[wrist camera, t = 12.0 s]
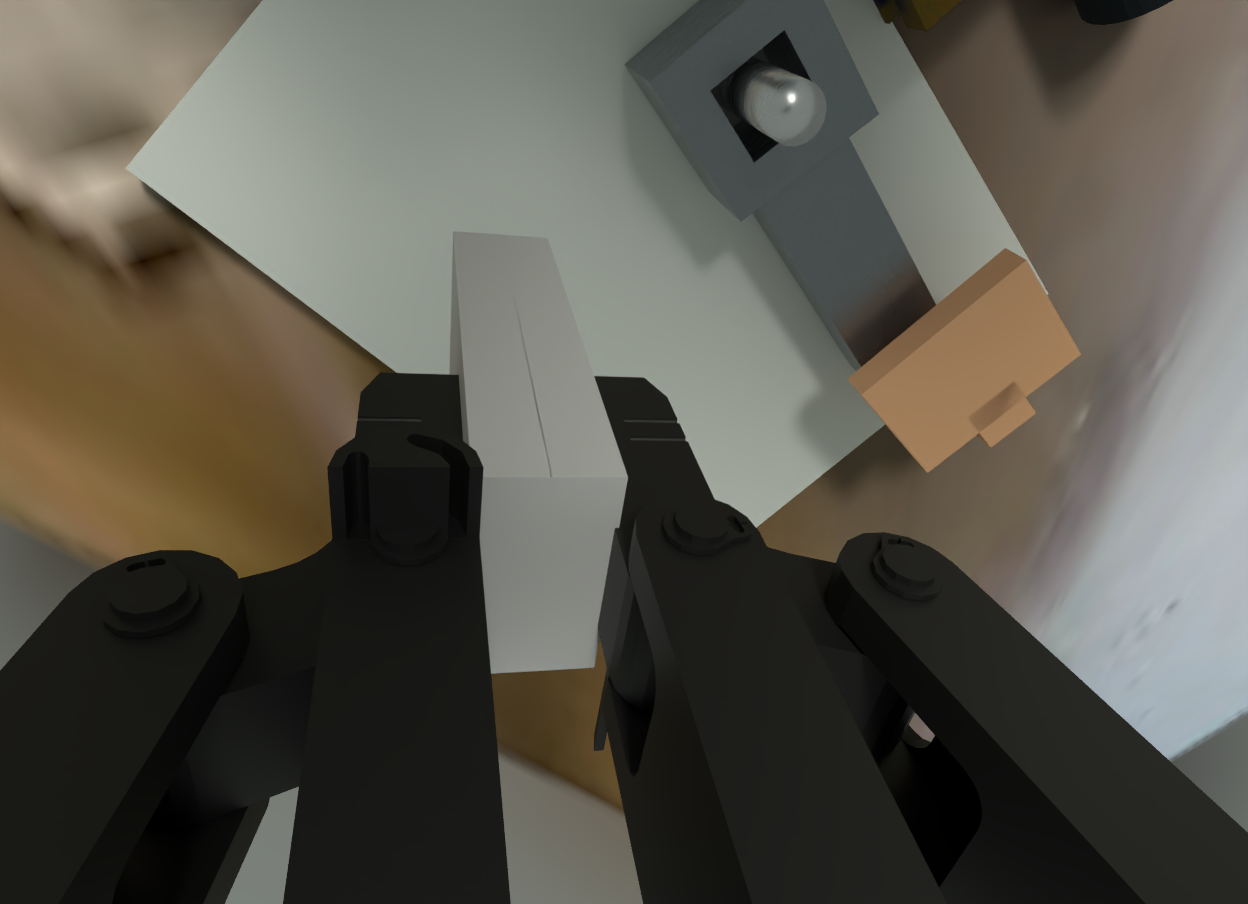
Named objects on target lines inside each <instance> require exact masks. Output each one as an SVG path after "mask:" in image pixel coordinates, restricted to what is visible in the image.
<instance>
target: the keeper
mask: <svg viewBox="0 0 1248 904" xmlns="http://www.w3.org/2000/svg"><path fill="white" fill-rule="evenodd" d="M1080 355H1081V353H1080V352H1079V350H1078V348H1077V346H1076V345H1075V343H1074V341H1073V339H1072V338H1071V336H1070V334H1069V333H1068V331H1067V329H1066V327H1065V326H1064V324H1063V322H1062V320H1061V319H1060V317H1059V315H1058V313H1057V312H1056V310H1055V308H1054V307H1053V305H1052V303H1051V301H1050V300H1049V298H1048V296H1047V294H1046V293H1045V291H1044V289H1043V288H1042V286H1041V284H1040V282H1039V281H1038V279H1037V277H1036V275H1035V274H1034V272H1033V270H1032V268H1031V267H1030V265H1029V263H1028V262H1027V260H1026V259H1024V258H1022V257H1021V256H1019V255H1017V254H1015V253H1014V252H1012V251H1010V250H1008V249H1006V248H1005V249H1003V250H1002V251H1001V252H1000V253H999V254H997V255H996V256H995V257H994V258H992V259H991V260H990V261H989V262H988V263H986V264H985V265H984V266H983V267H982V268H980V269H979V270H978V271H977V272H976V273H974V274H973V275H972V276H971V277H970V278H968V279H967V280H966V281H965V282H964V283H962V284H961V285H960V286H959V287H957V288H956V289H955V290H954V291H953V292H951V293H950V294H949V295H948V296H947V297H945V298H944V299H943V300H942V301H941V302H939V303H938V304H937V305H936V306H935V307H933V308H932V309H931V310H930V311H928V312H927V313H926V314H925V315H924V316H922V317H921V318H920V319H919V320H918V321H916V322H915V323H914V324H913V325H912V326H910V327H909V328H908V329H907V330H906V331H904V332H903V333H902V334H901V335H899V336H898V337H897V338H896V339H895V340H893V341H892V342H891V343H890V344H889V345H887V346H886V347H885V348H884V349H883V350H881V351H880V352H879V353H878V354H877V355H875V356H874V357H873V358H872V359H871V360H869V361H868V362H867V363H866V364H864V365H863V366H862V367H861V368H860V369H858V370H857V371H856V372H855V373H854V374H852V375H851V376H850V377H849V378H848V379H847V380H848V381H849V382H850V383H851V384H852V386H853V387H854V388H855V389H856V390H857V391H858V393H859V394H860V395H861V396H862V397H863V399H864V400H865V401H866V402H867V403H868V404H869V406H870V407H871V408H872V409H873V410H874V412H875V413H876V414H877V415H878V416H879V417H880V419H881V420H882V421H883V422H884V423H885V425H886V426H887V427H888V428H889V429H890V430H891V432H892V433H893V434H894V435H895V436H896V438H897V439H898V440H899V441H900V442H901V443H902V445H903V446H904V447H905V448H906V449H907V451H908V452H909V453H910V454H911V455H912V456H913V457H914V459H915V460H916V461H917V462H918V463H919V464H920V465H921V466H922V467H923V468H924V470H925V471H926V472H927V473H928V472H929V471H931V470H932V469H933V468H934V467H936V466H937V465H938V464H940V463H941V462H942V461H944V460H945V459H946V458H947V457H949V456H950V455H951V454H953V453H954V452H955V451H957V450H958V449H959V448H960V447H962V446H963V445H964V444H966V443H967V442H968V441H970V440H971V439H972V438H973V437H975V436H976V435H977V436H978V437H980V438H981V439H982V440H983V441H984V442H985V443H986V444H987V445H988V446H989V447H990V448H991V447H992V446H994V445H995V444H996V443H998V442H999V441H1000V440H1002V439H1003V438H1004V437H1005V436H1007V435H1008V434H1009V433H1011V432H1012V431H1013V430H1015V429H1016V428H1017V427H1019V426H1020V425H1021V424H1022V423H1024V422H1025V421H1026V420H1028V419H1029V418H1030V417H1032V416H1033V415H1034V414H1036V412H1035V411H1034V409H1033V408H1032V406H1031V405H1030V403H1029V402H1028V400H1027V399H1026V397H1027V396H1028V395H1029V394H1030V393H1032V392H1033V391H1034V390H1036V389H1037V388H1038V387H1040V386H1041V385H1042V384H1043V383H1045V382H1046V381H1047V380H1049V379H1050V378H1051V377H1053V376H1054V375H1055V374H1056V373H1058V372H1059V371H1060V370H1062V369H1063V368H1064V367H1066V366H1067V365H1068V364H1069V363H1071V362H1072V361H1073V360H1075V359H1076V358H1077V357H1078V356H1080Z"/></svg>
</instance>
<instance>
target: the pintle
mask: <svg viewBox="0 0 1248 904" xmlns="http://www.w3.org/2000/svg"><path fill="white" fill-rule="evenodd" d="M711 93H712V94H713V96H714V98H715V99H716V101H717V103H718V104H719V105H720V106H721V107H723V108H724V109H726V110H728V111H729V112H731V113H732V114H734V115H735V116H737V117H739V118H740V119H742V120H743V121H745V122H747V123H748V124H750V125H751V126H753V127H754V128H756V129H758V130H759V131H761V132H762V133H764V134H766V135H767V136H769V137H770V138H772V139H774V140H775V141H777V142H778V143H780V144H782V145H785V146H799V145H802V144H804V143H806V142H808V141H809V140H811V139H812V138H813V137H814V136H815V135H816V134H817V133H818V131H819V130H820V128H821V127H822V125H823V122H824V120H825V116H826V110H827V105H826V99H825V96H824V93H823V91H822V90H821V88H820V87H819V86H818V85H817V84H815V83H814V82H812V81H810V80H808V79H805V78H803V77H800V76H798V75H796V74H793V73H791V72H789V71H786V70H784V69H781V68H779V67H777V66H774V65H772V64H769V63H767V62H765V61H762V60H760V59H758V58H755V57H753V56H752V57H751V58H750V59H748V60H747V61H746V62H745V63H744V64H742V65H741V66H740V67H739V68H737V69H736V70H735V71H734V72H733V73H731V74H730V75H729V76H728V77H727V78H725V79H724V80H723V81H722V82H720V83H719V84H718V85H717V86H716V87H714V88H713V89H712V90H711Z"/></svg>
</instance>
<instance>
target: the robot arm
mask: <svg viewBox="0 0 1248 904" xmlns="http://www.w3.org/2000/svg"><path fill="white" fill-rule="evenodd" d="M685 438H686V436H685V434H684V432H683V430H682V428H681V425H680V423H677V417H676V415H675V413H674V410H673V408H672V406H671V404H670V402H669V400H668V397H667V396H666V395H664V394H663V393H662V392H661V391H660V390H658V389H657V388H656V387H655V386H654V385H652V384H651V383H650V382H649V381H648V380H647V379H645V378H644V377H611V376H594V375H593V372H592V369H591V366H590V363H589V360H588V357H587V354H586V351H585V348H584V345H583V342H582V339H581V336H580V333H579V330H578V327H577V324H576V321H575V318H574V315H573V312H572V309H571V306H570V303H569V300H568V297H567V294H566V291H565V288H564V285H563V282H562V279H561V276H560V273H559V270H558V268H557V265H556V262H555V259H554V256H553V253H552V250H551V247H550V244H549V241H548V238H542V237H528V236H514V235H500V234H486V233H471V232H457V231H453V256H452V293H451V331H450V368H449V374H415V373H381V372H380V373H379V374H378V375H377V376H376V377H375V378H374V380H373V381H372V382H371V383H370V384H369V385H368V386H367V387H366V388H365V389H364V390H363V391H362V392H361V395H360V403H359V411H358V421H357V427H356V435H355V438H353V439H352V440H350V441H349V442H348V443H346V444H345V445H343V446H342V447H341V448H339V449H338V450H336V452H335V454H334V456H333V458H332V460H331V461H330V463H329V465H328V467H327V468H328V481H329V495H330V509H331V523H332V537H333V539H332V540H331V541H330V542H329V543H328V544H327V545H325V546H324V547H323V548H322V549H320V550H319V551H318V552H317V553H315V554H313V555H311V556H309V557H307V558H305V559H303V560H301V561H299V562H297V563H295V564H292V565H288V566H285V567H282V568H279V569H276V570H273V571H269V572H265V573H260V574H256V575H252V576H248V577H244V578H240V579H238V576H237V572H235V571H234V570H233V569H232V568H230V567H229V566H228V565H227V564H225V563H224V562H223V561H222V560H220V559H219V558H217V557H213V556H210V555H206V554H203V553H199V552H196V551H192V550H159V551H154V552H150V553H145V554H141V555H136V556H132V557H127V558H124V559H122V560H120V561H118V562H115V563H113V564H111V565H109V566H107V567H105V568H102V569H100V570H98V571H96V572H94V573H92V574H91V575H90V576H89V577H88V578H86V579H85V580H84V581H83V582H81V583H80V584H79V585H78V586H77V587H75V588H74V589H73V590H72V591H70V592H69V593H68V594H67V596H66V597H65V598H64V599H63V600H62V601H61V602H60V603H59V605H58V606H57V607H56V608H55V609H54V610H53V611H52V612H51V614H50V615H49V616H48V617H47V618H46V619H45V620H44V622H43V623H42V624H41V625H40V626H39V627H38V628H37V630H36V631H35V632H34V633H33V634H32V635H31V637H30V638H29V639H28V640H27V641H26V642H25V643H24V644H23V645H22V647H21V648H20V649H19V650H18V651H17V652H16V653H15V655H14V656H13V657H12V658H11V659H10V660H9V661H8V663H7V664H6V665H5V666H4V667H3V668H2V669H1V670H0V904H225V902H226V899H227V897H228V895H229V893H230V890H231V888H232V886H233V883H234V881H235V879H236V877H237V875H238V872H239V870H240V868H241V865H242V863H243V861H244V859H245V856H246V854H247V852H248V850H249V847H250V845H251V843H252V841H253V838H254V836H255V834H256V832H257V829H258V827H259V825H260V823H261V820H262V818H263V816H264V814H265V811H266V809H267V807H268V803H269V798H270V797H272V796H275V795H277V794H280V793H282V792H285V791H288V790H290V789H293V788H296V787H299V791H298V798H297V806H296V813H295V820H294V828H293V835H292V842H291V850H290V857H289V864H288V872H287V879H286V886H285V893H284V901H283V904H510V892H509V880H508V868H507V856H506V844H505V833H504V821H503V809H502V797H501V786H500V773H499V762H498V750H497V738H496V726H495V714H494V703H493V691H492V679H491V674H494V673H511V672H528V671H545V670H562V669H579V668H594V665H595V660H596V654H597V648H598V643H599V637H600V639H601V643H602V648H603V652H604V656H605V661H606V665H607V670H606V675H605V681H604V686H603V691H602V696H601V702H600V707H599V712H598V717H597V722H596V728H595V733H594V751H598V750H604V745H605V740H606V735H607V732H608V737H609V742H610V746H611V751H612V756H613V761H614V766H615V770H616V775H617V780H618V785H619V789H620V794H621V799H622V804H623V809H624V813H625V818H626V823H627V828H628V832H629V837H630V842H631V847H632V852H633V857H634V861H635V866H636V871H637V876H638V881H639V885H640V890H641V895H642V900H643V904H1248V833H1247V832H1246V831H1245V830H1244V829H1243V828H1242V827H1241V826H1240V825H1239V824H1238V823H1237V822H1236V821H1234V820H1233V819H1232V818H1231V817H1230V816H1229V815H1228V814H1227V813H1226V812H1224V811H1223V810H1222V809H1221V808H1220V807H1219V806H1218V805H1217V804H1216V803H1215V802H1213V800H1211V799H1210V798H1209V797H1208V796H1207V795H1206V794H1205V793H1204V792H1203V791H1202V790H1200V789H1199V788H1198V787H1197V786H1196V785H1195V784H1194V783H1193V782H1192V781H1191V780H1190V779H1188V778H1187V777H1186V776H1185V775H1184V774H1183V773H1182V772H1181V771H1180V770H1179V769H1178V768H1176V767H1175V766H1174V765H1173V764H1172V763H1171V762H1170V761H1169V760H1168V759H1167V758H1166V757H1165V756H1163V755H1162V754H1161V753H1160V752H1159V751H1158V750H1157V749H1156V748H1155V747H1154V746H1153V745H1151V744H1150V743H1149V742H1148V741H1147V740H1146V739H1145V738H1144V737H1143V736H1142V735H1141V734H1139V733H1138V732H1137V731H1136V730H1135V729H1134V728H1133V727H1132V726H1131V725H1130V724H1129V723H1127V722H1126V721H1125V720H1124V719H1123V718H1122V717H1121V716H1120V715H1119V714H1118V713H1116V712H1115V711H1114V710H1113V709H1112V708H1111V707H1110V706H1109V705H1108V704H1107V703H1106V702H1104V701H1103V700H1102V699H1101V698H1100V697H1099V696H1098V695H1097V694H1096V693H1095V692H1094V691H1092V690H1091V689H1090V688H1089V687H1088V686H1087V685H1086V684H1085V683H1084V682H1083V681H1082V680H1080V679H1079V678H1078V677H1077V676H1076V675H1075V674H1074V673H1073V672H1072V671H1071V670H1070V669H1068V668H1067V667H1066V666H1065V665H1064V664H1063V663H1062V662H1061V661H1060V660H1059V659H1058V658H1056V657H1055V656H1054V655H1053V654H1052V653H1051V652H1050V651H1049V650H1048V649H1047V648H1046V647H1044V646H1043V645H1042V644H1041V643H1040V642H1039V641H1038V640H1037V639H1036V638H1035V637H1034V636H1032V635H1031V634H1030V633H1029V632H1028V631H1027V630H1026V629H1025V628H1024V627H1023V626H1022V625H1020V624H1019V623H1018V622H1017V621H1016V620H1015V619H1014V618H1013V617H1012V616H1011V615H1009V614H1008V613H1007V612H1006V611H1005V610H1004V609H1003V608H1002V607H1001V606H1000V605H999V604H997V603H996V602H995V601H994V600H993V599H992V598H991V597H990V596H989V595H988V594H987V593H985V592H984V591H983V590H982V589H981V588H980V587H979V586H978V585H977V584H976V583H975V582H973V581H972V580H971V579H970V578H969V577H968V576H967V575H966V574H965V573H964V572H963V571H961V570H960V569H959V568H958V567H957V566H956V565H955V564H954V563H953V562H951V561H950V560H949V559H947V558H946V557H944V556H943V555H942V554H940V553H939V552H937V551H936V550H935V549H933V548H932V547H929V546H927V545H925V544H922V543H920V542H918V541H916V540H913V539H911V538H909V537H904V536H899V535H894V534H890V533H885V532H883V533H863V534H861V535H859V536H857V537H854V538H852V539H850V540H848V541H847V542H846V544H845V546H844V547H843V549H842V550H841V552H840V554H839V557H838V559H837V562H836V563H833V562H828V561H823V560H818V559H813V558H809V557H804V556H799V555H794V554H789V553H786V552H782V551H779V550H775V549H772V548H769V547H767V546H766V544H765V542H764V540H763V538H762V536H761V534H760V532H759V531H758V530H757V528H756V527H755V526H754V525H753V523H752V522H751V521H750V520H749V518H748V517H747V516H745V515H744V514H742V513H741V512H739V511H738V510H736V509H735V508H733V507H732V506H730V505H729V504H726V503H723V502H720V501H718V500H715V499H714V497H713V494H712V492H711V490H710V488H709V486H708V484H707V482H706V479H705V477H704V475H703V473H702V471H701V469H700V466H699V464H698V462H697V460H696V458H695V456H694V454H693V451H692V449H691V447H690V445H689V443H688V441H686V439H685ZM914 713H916V714H917V715H918V716H919V717H920V718H921V720H922V721H923V722H924V723H925V724H926V725H927V726H928V728H929V729H930V730H931V731H932V732H933V733H934V735H935V737H934V738H933V740H932V742H929V741H927V740H924V739H922V738H921V737H920V736H919V735H918V734H917V733H916V732H915V731H914V730H913V729H912V728H911V727H910V726H909V723H910V721H911V719H912V717H913V715H914Z"/></svg>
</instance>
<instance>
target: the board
mask: <svg viewBox="0 0 1248 904" xmlns="http://www.w3.org/2000/svg"><path fill="white" fill-rule="evenodd" d="M698 1H699V0H262V1H261V2H260V4H259V5H258V6H257V7H256V9H255V10H254V11H253V12H252V14H251V15H250V16H249V17H248V18H247V20H246V21H245V22H244V23H243V25H242V26H241V27H240V28H239V30H238V31H237V32H236V33H235V34H234V36H233V37H232V38H231V39H230V41H229V42H228V43H227V44H226V46H225V47H224V48H223V49H222V50H221V52H220V53H219V54H218V55H217V57H216V58H215V59H214V60H213V62H212V63H211V64H210V65H209V66H208V68H207V69H206V70H205V71H204V73H203V74H202V75H201V76H200V78H199V79H198V80H197V81H196V82H195V84H194V85H193V86H192V87H191V89H190V90H189V91H188V92H187V94H186V95H185V96H184V97H183V98H182V100H181V101H180V102H179V103H178V105H177V106H176V107H175V108H174V110H173V111H172V112H171V113H170V114H169V116H168V117H167V118H166V119H165V121H164V122H163V123H162V124H161V126H160V127H159V128H158V129H157V130H156V132H155V133H154V134H153V135H152V137H151V138H150V139H149V140H148V142H147V143H146V144H145V145H144V146H143V148H142V149H141V150H140V151H139V153H138V154H137V155H136V156H135V157H134V159H133V160H132V161H131V162H130V164H129V165H128V166H127V167H126V169H127V170H128V171H130V172H131V173H132V174H134V175H135V176H136V177H138V178H139V179H140V180H142V181H143V182H144V183H146V184H147V185H148V186H150V187H151V188H152V189H154V190H155V191H156V192H158V193H159V194H160V195H162V196H163V197H164V198H166V199H167V200H168V201H169V202H171V203H172V204H173V205H175V206H176V207H177V208H179V209H180V210H181V211H183V212H184V213H185V214H187V215H188V216H189V217H191V218H192V219H193V220H195V221H196V222H197V223H199V224H200V225H201V226H203V227H204V228H205V229H207V230H208V231H209V232H211V233H212V234H213V235H215V236H216V237H217V238H219V239H220V240H221V241H223V242H224V243H225V244H227V245H228V246H229V247H231V248H232V249H233V250H234V251H236V252H237V253H238V254H240V255H241V256H242V257H244V258H245V259H246V260H248V261H249V262H250V263H252V264H253V265H254V266H256V267H257V268H258V269H260V270H261V271H262V272H264V273H265V274H266V275H268V276H269V277H270V278H272V279H273V280H274V281H276V282H277V283H278V284H280V285H281V286H282V287H284V288H285V289H286V290H288V291H289V292H290V293H292V294H293V295H294V296H296V297H297V298H298V299H299V300H301V301H302V302H303V303H305V304H306V305H307V306H309V307H310V308H311V309H313V310H314V311H315V312H317V313H318V314H319V315H321V316H322V317H323V318H325V319H326V320H327V321H329V322H330V323H331V324H333V325H334V326H335V327H337V328H338V329H339V330H341V331H342V332H343V333H345V334H346V335H347V336H349V337H350V338H351V339H353V340H354V341H355V342H357V343H358V344H359V345H361V346H362V347H363V348H365V349H366V350H367V351H368V352H370V353H371V354H372V355H374V356H375V357H376V358H378V359H379V360H380V361H382V362H383V363H384V364H386V365H387V366H388V367H390V368H391V369H392V370H394V371H395V372H396V373H415V374H449V368H450V331H451V293H452V256H453V231H457V232H471V233H486V234H500V235H514V236H528V237H542V238H548V241H549V244H550V247H551V250H552V253H553V256H554V259H555V262H556V265H557V268H558V270H559V273H560V276H561V279H562V282H563V285H564V288H565V291H566V294H567V297H568V300H569V303H570V306H571V309H572V312H573V315H574V318H575V321H576V324H577V327H578V330H579V333H580V336H581V339H582V342H583V345H584V348H585V351H586V354H587V357H588V360H589V363H590V366H591V369H592V372H593V375H594V376H611V377H644V378H645V379H647V380H648V381H649V382H650V383H651V384H652V385H654V386H655V387H656V388H657V389H658V390H660V391H661V392H662V393H663V394H664V395H666V396H667V397H668V400H669V402H670V404H671V406H672V408H673V410H674V413H675V415H676V417H677V423H680V425H681V428H682V430H683V432H684V434H685V436H686V438H685V439H686V441H688V443H689V445H690V447H691V449H692V451H693V454H694V456H695V458H696V460H697V462H698V464H699V466H700V469H701V471H702V473H703V475H704V477H705V479H706V482H707V484H708V486H709V488H710V490H711V492H712V494H713V497H714V499H715V500H718V501H720V502H723V503H726V504H729V505H730V506H732V507H733V508H735V509H736V510H738V511H739V512H741V513H742V514H744V515H745V516H747V517H748V518H749V520H750V521H751V522H752V523H753V525H754V526H755V527H758V526H759V525H760V524H761V523H763V522H764V521H765V520H766V519H768V518H769V517H770V516H771V515H773V514H774V513H775V512H776V511H778V510H779V509H780V508H781V507H783V506H784V505H785V504H786V503H788V502H789V501H790V500H791V499H793V498H794V497H795V496H796V495H798V494H799V493H800V492H801V491H803V490H804V489H805V488H806V487H808V486H809V485H810V484H811V483H813V482H814V481H815V480H816V479H818V478H819V477H820V476H821V475H823V474H824V473H825V472H826V471H828V470H829V469H830V468H831V467H833V466H834V465H835V464H836V463H838V462H839V461H840V460H841V459H843V458H844V457H845V456H846V455H848V454H849V453H850V452H851V451H853V450H854V449H855V448H856V447H858V446H859V445H860V444H861V443H863V442H864V441H865V440H866V439H868V438H869V437H870V436H871V435H873V434H874V433H875V432H876V431H878V430H879V429H880V428H881V427H883V426H884V425H885V423H884V422H883V421H882V420H881V419H880V417H879V416H878V415H877V414H876V413H875V412H874V410H873V409H872V408H871V407H870V406H869V404H868V403H867V402H866V401H865V400H864V399H863V397H862V396H861V395H860V394H859V393H858V391H857V390H856V389H855V388H854V387H853V386H852V384H851V383H850V382H849V381H848V380H847V379H848V378H849V377H850V376H851V375H852V374H854V373H855V372H856V371H855V370H854V369H853V368H852V366H851V365H850V364H849V363H848V361H847V360H846V358H845V356H844V355H843V353H842V352H841V350H840V349H839V347H838V345H837V344H836V342H835V341H834V339H833V338H832V336H831V335H830V333H829V331H828V330H827V328H826V327H825V325H824V324H823V322H822V320H821V319H820V317H819V316H818V314H817V313H816V311H815V310H814V308H813V306H812V305H811V303H810V302H809V300H808V299H807V297H806V295H805V294H804V292H803V291H802V289H801V288H800V286H799V284H798V283H797V281H796V280H795V278H794V277H793V275H792V274H791V272H790V270H789V269H788V267H787V266H786V264H785V263H784V261H783V259H782V258H781V256H780V255H779V253H778V252H777V250H776V249H775V247H774V245H773V244H772V242H771V241H770V239H769V238H768V236H767V234H766V233H765V231H764V230H763V228H762V227H761V225H760V224H759V222H758V220H757V219H756V217H755V216H754V214H753V213H752V214H750V215H749V216H748V217H747V218H745V219H744V220H743V221H741V222H740V221H739V220H738V219H737V218H736V217H735V216H734V215H733V214H732V213H731V212H730V211H729V210H728V209H727V208H726V207H725V206H723V205H722V204H721V203H720V202H719V201H718V200H717V199H716V198H715V197H714V196H713V195H712V194H711V193H710V192H709V191H708V189H707V188H706V186H705V185H704V183H703V182H702V180H701V179H700V177H699V176H698V174H697V173H696V171H695V170H694V168H693V167H692V165H691V164H690V162H689V161H688V159H687V158H686V156H685V155H684V153H683V152H682V150H681V149H680V147H679V146H678V144H677V143H676V141H675V140H674V138H673V137H672V135H671V134H670V132H669V131H668V129H667V128H666V126H665V125H664V123H663V122H662V120H661V119H660V117H659V116H658V114H657V113H656V111H655V110H654V108H653V107H652V105H651V104H650V102H649V101H648V99H647V98H646V96H645V95H644V93H643V92H642V90H641V89H640V87H639V86H638V84H637V83H636V81H635V80H634V78H633V77H632V75H631V74H630V72H629V71H628V69H627V68H626V66H625V65H624V64H625V63H626V62H628V61H629V60H630V59H631V58H632V57H633V56H635V55H636V54H637V53H638V52H639V51H641V50H642V49H643V48H644V47H645V46H646V45H648V44H649V43H650V42H651V41H652V40H653V39H655V38H656V37H657V36H658V35H659V34H660V33H662V32H663V31H664V30H665V29H666V28H668V27H669V26H670V25H671V24H672V23H673V22H675V21H676V20H677V19H678V18H679V17H680V16H682V15H683V14H684V13H685V12H686V11H687V10H689V9H690V8H691V7H692V6H693V5H695V4H696V3H697V2H698ZM824 2H825V4H826V6H827V8H828V10H829V12H830V14H831V16H832V18H833V20H834V22H835V24H836V26H837V28H838V30H839V32H840V35H841V37H842V39H843V41H844V43H845V45H846V47H847V49H848V51H849V53H850V55H851V57H852V59H853V61H854V63H855V65H856V67H857V69H858V72H859V74H860V76H861V78H862V80H863V82H864V84H865V86H866V88H867V90H868V92H869V94H870V96H871V98H872V100H873V102H874V104H875V106H876V108H877V111H878V113H879V115H877V116H876V117H875V118H874V119H872V120H871V121H870V122H868V123H867V124H866V125H865V126H863V127H862V128H861V129H859V130H858V131H857V132H856V133H854V134H853V135H852V136H851V137H849V138H850V140H851V142H852V144H853V146H854V148H855V150H856V152H857V154H858V156H859V158H860V159H861V161H862V163H863V165H864V167H865V169H866V171H867V173H868V175H869V177H870V179H871V181H872V182H873V184H874V186H875V188H876V190H877V192H878V194H879V196H880V198H881V200H882V202H883V204H884V206H885V207H886V209H887V211H888V213H889V215H890V217H891V219H892V221H893V223H894V225H895V227H896V229H897V230H898V232H899V234H900V236H901V238H902V240H903V242H904V244H905V246H906V248H907V250H908V252H909V254H910V255H911V257H912V259H913V261H914V263H915V265H916V267H917V269H918V271H919V273H920V275H921V277H922V278H923V280H924V282H925V284H926V286H927V288H928V290H929V292H930V294H931V296H932V298H933V300H934V302H935V303H936V305H937V304H938V303H939V302H941V301H942V300H943V299H944V298H945V297H947V296H948V295H949V294H950V293H951V292H953V291H954V290H955V289H956V288H957V287H959V286H960V285H961V284H962V283H964V282H965V281H966V280H967V279H968V278H970V277H971V276H972V275H973V274H974V273H976V272H977V271H978V270H979V269H980V268H982V267H983V266H984V265H985V264H986V263H988V262H989V261H990V260H991V259H992V258H994V257H995V256H996V255H997V254H999V253H1000V252H1001V251H1002V250H1003V249H1005V248H1006V249H1008V250H1010V251H1012V252H1014V253H1015V254H1017V255H1019V256H1021V257H1022V258H1024V259H1026V260H1027V262H1028V263H1029V265H1030V267H1031V268H1032V270H1033V272H1034V274H1035V275H1036V277H1037V279H1038V281H1039V282H1040V284H1041V286H1042V288H1043V289H1044V291H1045V293H1046V294H1047V295H1048V292H1047V290H1046V289H1045V287H1044V285H1043V283H1042V282H1041V280H1040V278H1039V276H1038V275H1037V273H1036V271H1035V269H1034V268H1033V266H1032V264H1031V262H1030V261H1029V259H1028V257H1027V256H1026V254H1025V252H1024V250H1023V249H1022V247H1021V245H1020V243H1019V242H1018V240H1017V238H1016V236H1015V235H1014V233H1013V231H1012V229H1011V228H1010V226H1009V224H1008V222H1007V221H1006V219H1005V217H1004V216H1003V214H1002V212H1001V210H1000V209H999V207H998V205H997V203H996V202H995V200H994V198H993V196H992V195H991V193H990V191H989V189H988V188H987V186H986V184H985V182H984V181H983V179H982V177H981V176H980V174H979V172H978V170H977V169H976V167H975V165H974V163H973V162H972V160H971V158H970V156H969V155H968V153H967V151H966V149H965V148H964V146H963V144H962V142H961V141H960V139H959V137H958V135H957V134H956V132H955V130H954V129H953V127H952V125H951V123H950V122H949V120H948V118H947V116H946V115H945V113H944V111H943V109H942V108H941V106H940V104H939V102H938V101H937V99H936V97H935V95H934V94H933V92H932V90H931V89H930V87H929V85H928V83H927V82H926V80H925V78H924V76H923V75H922V73H921V71H920V69H919V68H918V66H917V64H916V62H915V61H914V59H913V57H912V55H911V54H910V52H909V50H908V48H907V47H906V45H905V43H904V42H903V40H902V38H901V36H900V35H899V33H898V31H897V29H896V28H895V26H894V24H893V22H891V23H890V24H886V23H885V22H884V20H883V18H882V17H881V15H880V13H879V11H878V9H877V7H876V5H875V3H874V1H873V0H824ZM753 57H755V58H758V59H760V60H762V61H765V62H767V63H769V64H770V62H769V61H768V59H767V57H766V55H765V53H764V52H763V50H762V49H761V50H759V51H758V52H757V53H756V54H754V55H753ZM719 106H720V105H719ZM720 108H721V109H722V111H723V112H724V114H725V116H726V117H727V119H728V121H729V122H730V124H731V126H732V127H734V126H735V125H736V124H738V123H739V122H740V121H741V120H742V119H740V118H739V117H737V116H735V115H734V114H732V113H731V112H729V111H728V110H726V109H724V108H723V107H721V106H720Z"/></svg>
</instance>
